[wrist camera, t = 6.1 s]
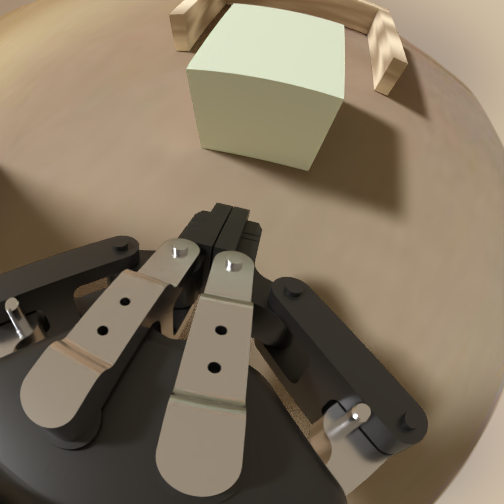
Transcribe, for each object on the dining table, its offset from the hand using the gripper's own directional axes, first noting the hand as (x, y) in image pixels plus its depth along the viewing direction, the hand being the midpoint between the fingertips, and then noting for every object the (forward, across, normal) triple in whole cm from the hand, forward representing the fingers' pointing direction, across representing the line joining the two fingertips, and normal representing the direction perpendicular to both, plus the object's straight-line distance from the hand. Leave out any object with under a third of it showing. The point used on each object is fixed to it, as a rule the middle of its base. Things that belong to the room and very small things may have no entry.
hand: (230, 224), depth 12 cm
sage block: (+12, 0, -4) cm, 13 cm away
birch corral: (+22, 0, -15) cm, 27 cm away
